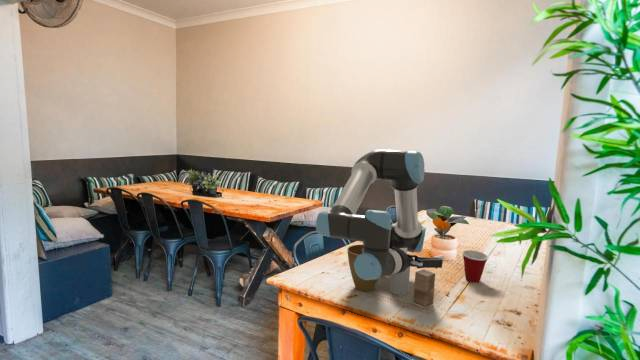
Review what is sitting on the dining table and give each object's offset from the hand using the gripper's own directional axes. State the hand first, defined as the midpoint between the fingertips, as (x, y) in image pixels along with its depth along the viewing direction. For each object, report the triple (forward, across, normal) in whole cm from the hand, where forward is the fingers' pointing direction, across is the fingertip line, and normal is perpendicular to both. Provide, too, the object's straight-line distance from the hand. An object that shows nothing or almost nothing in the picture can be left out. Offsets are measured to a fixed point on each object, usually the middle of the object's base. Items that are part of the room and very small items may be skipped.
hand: (423, 255), depth 128 cm
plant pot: (+3, -26, -19) cm, 32 cm away
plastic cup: (+45, +2, -15) cm, 48 cm away
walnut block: (+7, -2, -19) cm, 21 cm away
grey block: (+10, -14, -18) cm, 25 cm away
